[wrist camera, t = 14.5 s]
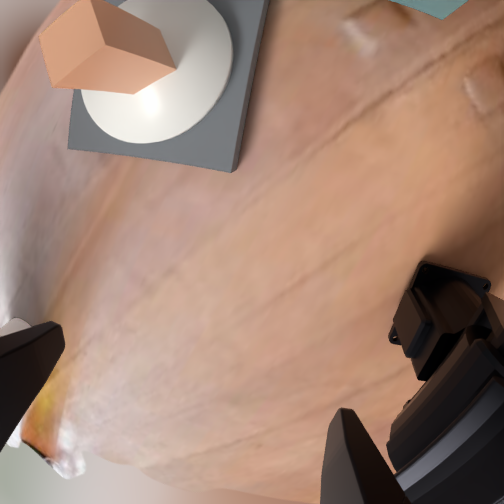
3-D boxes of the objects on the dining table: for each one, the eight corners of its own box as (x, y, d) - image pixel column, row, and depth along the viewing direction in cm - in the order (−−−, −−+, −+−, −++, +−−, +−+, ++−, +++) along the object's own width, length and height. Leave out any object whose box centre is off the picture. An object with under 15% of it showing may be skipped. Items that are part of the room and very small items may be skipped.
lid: (198, -33, 13) (141, -95, 6) (261, 98, 16) (226, 76, 9) (72, 47, 16) (-12, 34, 9) (116, 169, 19) (30, 196, 12)
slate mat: (271, -10, 15) (268, -19, 13) (236, 169, 19) (230, 172, 18) (107, -5, 16) (96, -10, 14) (80, 146, 20) (67, 148, 19)
